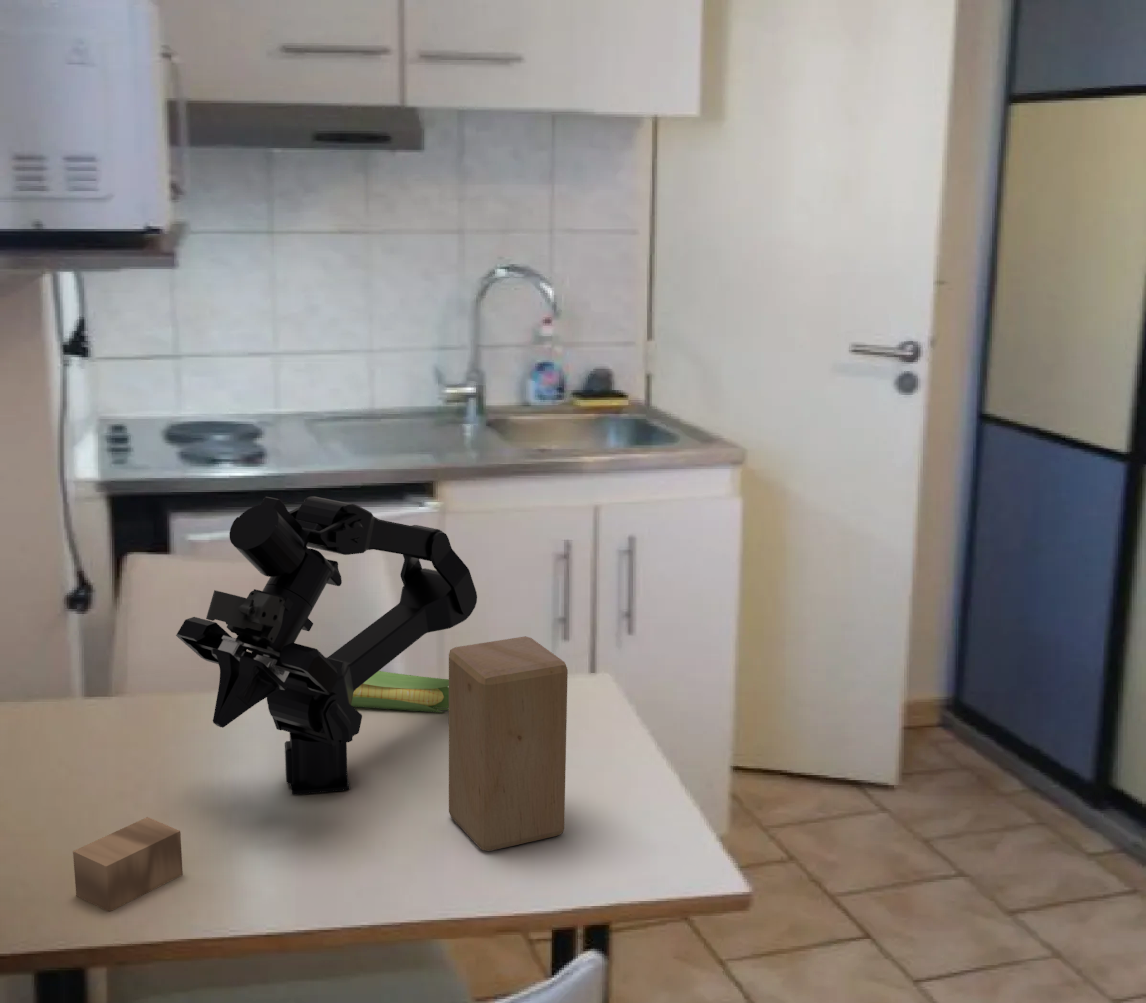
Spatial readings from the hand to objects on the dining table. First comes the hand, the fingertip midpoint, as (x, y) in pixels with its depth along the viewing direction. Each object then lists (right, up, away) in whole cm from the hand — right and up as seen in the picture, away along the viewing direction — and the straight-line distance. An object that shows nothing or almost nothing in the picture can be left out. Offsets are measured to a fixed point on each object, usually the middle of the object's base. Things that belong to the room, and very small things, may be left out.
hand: (217, 725), depth 154 cm
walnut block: (-4, -12, -4) cm, 13 cm away
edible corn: (+14, -4, +38) cm, 41 cm away
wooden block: (+30, -12, +6) cm, 33 cm away
